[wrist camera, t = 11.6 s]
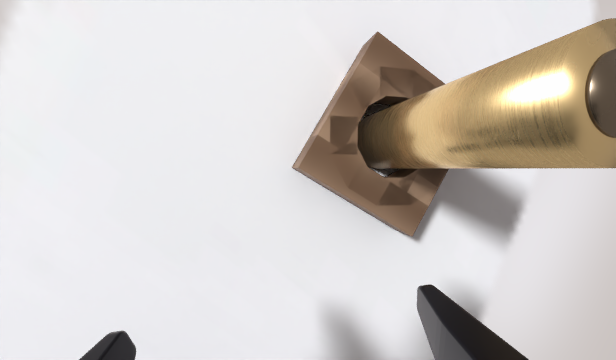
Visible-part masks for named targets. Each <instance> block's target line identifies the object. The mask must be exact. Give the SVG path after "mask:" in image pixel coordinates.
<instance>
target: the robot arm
mask: <svg viewBox="0 0 616 360" xmlns="http://www.w3.org/2000/svg"><path fill="white" fill-rule="evenodd" d="M417 309H418V313H419V316H420V319H421V321H422V324H423V327H424V330H425V333H426V335H427V338H428V341H429V344H430V346H431V349H432V352H433V355H434V358H435V360H528V359H527V358H526V357H525V356H523V355H522V354H521V353H519V352H518V351H517V350H516V349H514V348H513V347H512V346H510V345H509V344H508V343H507V342H505V341H504V340H503V339H502V338H500V337H499V336H497V335H496V334H495V333H494V332H492V331H491V330H490V329H489V328H487V327H486V326H485V325H483V324H482V323H481V322H480V321H478V320H477V319H476V318H474V317H473V316H472V315H471V314H469V313H468V312H467V311H465V310H464V309H463V308H462V307H460V306H459V305H458V304H456V303H455V302H454V301H453V300H451V299H450V298H449V297H447V296H446V295H445V294H444V293H442V292H441V291H440V290H438V289H437V288H436V287H435V286H433V285H423V286H419V287H418V290H417ZM135 356H136V347H135V345H134V344H133V342H132V341H131V339H130V337H129V336H128V334H127V333H126V332H125V331H117V332H111V333H109V334H107V335H106V336H105V337H104V338H103V339H102V340H101V341H99V342H98V343H97V344H96V345H95V346H94V347H93V348H92V349H91V350H89V351H88V352H87V353H86V354H85V355H84V356H83V357H82V358H80V359H79V360H135Z"/></svg>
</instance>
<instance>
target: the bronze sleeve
mask: <svg viewBox="0 0 616 360" xmlns="http://www.w3.org/2000/svg"><path fill="white" fill-rule="evenodd" d="M357 147H358V149H359V151H360V153H361V155H362V157H363V159H364V161H365V163H366V165H368V166H370V167H372V168H377V169H420V168H616V19H606V20H602V21H600V22H597V23H594V24H592V25H590V26H587V27H585V28H582V29H580V30H577V31H575V32H572V33H570V34H567V35H565V36H563V37H560V38H558V39H555V40H553V41H550V42H548V43H545V44H543V45H541V46H538V47H536V48H533V49H531V50H528V51H526V52H523V53H521V54H519V55H516V56H514V57H511V58H509V59H506V60H504V61H501V62H499V63H497V64H494V65H492V66H489V67H487V68H484V69H482V70H479V71H477V72H474V73H472V74H470V75H467V76H465V77H462V78H460V79H457V80H455V81H452V82H450V83H448V84H445V85H443V86H440V87H438V88H435V89H433V90H430V91H428V92H426V93H423V94H421V95H418V96H416V97H413V98H411V99H408V100H406V101H404V102H401V103H399V104H396V105H394V106H391V107H389V108H386V109H384V110H382V111H379V112H377V113H374V114H372V115H369V116H367V117H366V118H364V119H363V120H362V121H361V122H360V123H359V125H358V142H357Z"/></svg>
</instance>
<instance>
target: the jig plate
mask: <svg viewBox="0 0 616 360" xmlns="http://www.w3.org/2000/svg"><path fill="white" fill-rule="evenodd" d="M443 85H445V84H444V83H443V82H442V81H441V80H439V79H438V78H437V77H435V76H434V75H433V74H432V73H430V72H429V71H428V70H426V69H425V68H424V67H423V66H421V65H420V64H419V63H418V62H416V61H415V60H414V59H412V58H411V57H410V56H409V55H407V54H406V53H405V52H403V51H402V50H401V49H400V48H398V47H397V46H396V45H394V44H393V43H392V42H391V41H389V40H388V39H387V38H385V37H384V36H383V35H382V34H380V33H379V32H377V33H376V34H375V35H374V36H373V37H371V38H370V39H369V40H368V41H367V42H366V43H365V44H364V45H363V47H362V48H361V50H360V52H359V54H358V55H357V57H356V59H355V60H354V62H353V64H352V66H351V67H350V69H349V71H348V72H347V74H346V76H345V78H344V79H343V81H342V83H341V84H340V86H339V88H338V90H337V91H336V93H335V95H334V96H333V98H332V100H331V102H330V103H329V105H328V107H327V108H326V110H325V112H324V113H323V115H322V117H321V119H320V120H319V122H318V124H317V125H316V127H315V129H314V131H313V132H312V134H311V136H310V137H309V139H308V141H307V143H306V144H305V146H304V148H303V149H302V151H301V153H300V155H299V156H298V158H297V160H296V161H295V163H294V165H293V167H292V168H293V169H295V170H297V171H298V172H300V173H302V174H303V175H305V176H307V177H308V178H310V179H312V180H313V181H315V182H317V183H318V184H320V185H322V186H323V187H325V188H327V189H328V190H330V191H332V192H333V193H335V194H337V195H338V196H340V197H342V198H343V199H345V200H347V201H348V202H350V203H352V204H353V205H355V206H357V207H358V208H360V209H362V210H363V211H365V212H366V213H368V214H370V215H371V216H373V217H375V218H376V219H378V220H380V221H381V222H383V223H385V224H386V225H388V226H390V227H391V228H393V229H395V230H397V231H400V232H402V233H404V234H407V235H409V236H413V234H414V232H415V231H416V229H417V227H418V225H419V223H420V221H421V219H422V218H423V216H424V214H425V212H426V210H427V208H428V207H429V205H430V203H431V201H432V199H433V197H434V195H435V194H436V192H437V190H438V188H439V186H440V184H441V182H442V181H443V179H444V177H445V175H446V173H447V171H448V169H449V168H420V169H399V170H397V171H396V172H394V173H392V174H391V175H389V176H388V177H383V176H381V175H379V174H378V173H376V172H375V171H373V170H372V169H370V168H369V167H367V165H366V163H365V161H364V159H363V157H362V155H361V153H360V151H359V149H358V147H357V142H358V124H359V122H360V120H361V118H362V117H363V115H364V113H365V111H366V110H367V108H368V106H369V105H371V104H373V103H375V104H389V105H391V106H394V105H396V104H399V103H401V102H404V101H406V100H408V99H411V98H413V97H416V96H418V95H421V94H423V93H426V92H428V91H430V90H433V89H435V88H438V87H440V86H443Z"/></svg>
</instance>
